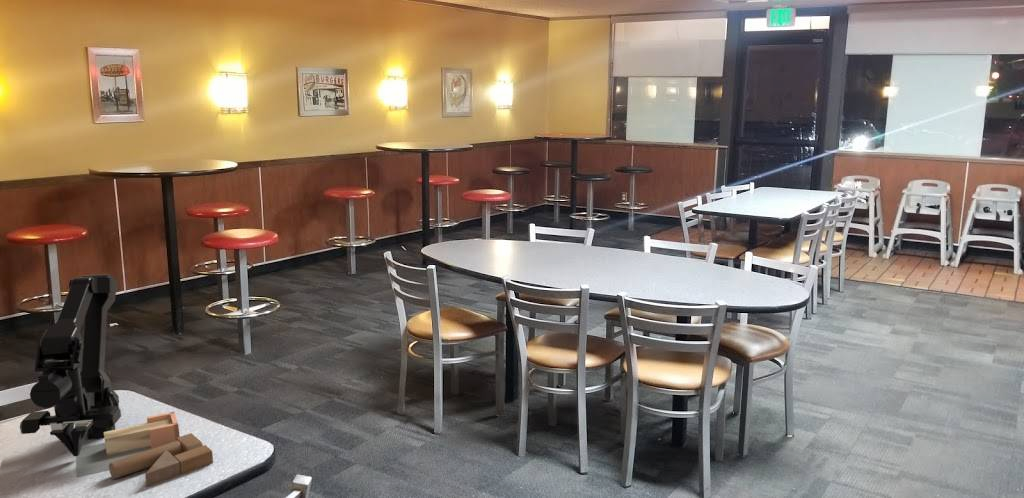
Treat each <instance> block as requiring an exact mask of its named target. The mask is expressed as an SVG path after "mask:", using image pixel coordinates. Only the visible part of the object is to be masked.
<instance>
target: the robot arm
mask: <svg viewBox="0 0 1024 498" xmlns="http://www.w3.org/2000/svg"><path fill="white" fill-rule="evenodd" d="M68 289H69V290H68V292H67V295H66V296H65V300H64V302H63V305H62V308H61V309H60V313H59V315H58V318H57V320H56V322H55V323H54V324H52V325H51V326H50V327H48V328H47V329H45V332H44V333H43V335H42V337H41V339H40V340H39V342H38V345H37V352H36V359H35V365H34V372H35V373H40V372H42V373H41V374H39V375H38V377H37V379H38V380H37V382H36V383H35V384H34V385H33V386H32V387H31V388H30V393H29V396H30V400H31V401H32V403H33V404H34V405H35V406H37V407H40V408H41V409H42V408H43V409H48V408H52V407H53V408H54V415H51V412H50V411H49V410H40V411H39V410H38V411H31V412H30V413H29V414H28V415H27V416H26V417H24V418H23V419H22V420H21V421H20V424H19V429H20V433H21V435H27V434H36V433H37V432H38V431H39V430H40V429H41V427H40V426H42V427H43V426H49V427H50V429H51V431H50V432H49V433H50V434H49V435H50V436H55V437H56V438H57V439H58V440H59V441H60V442H61V444H63V445H64V447H65V448H66V449H67V450H68V451H69V452H70V453H71V454H72V457H76V456H78V455H79V454H80V450H81V448H82V445H83V441H91V440H97V439H101V438H104V432H107V431H112V430H116V423H117V422H118V421H119V419H121V417H122V412H121V408H120V405H119V404H120V399H119V398H120V397H119V395H118V393H117V392H116V391H115V390H114V389H113V388H112V382H111V380H110V378H109V376H108V375H107V373H106V371H105V359H106V358H105V357H106V343H107V342H106V340H107V339H106V338H107V337H106V336H107V323H108V322H107V321H108V320H107V319H108V311H109V309H110V308H111V307H112V305H113V304H114V302H115V301H116V297H117V296H116V294H117V292H118V290H119V281H118V279H117V278H116V277H114V276H113V275H112V274H111V273H103V274H100V273H99V274H83V275H82V276H81V277H74V278H71V279H70V280H69V283H68ZM82 326H83V338H82V335H81V330H82ZM46 361H47V362H46ZM80 363H81V370H80Z"/></svg>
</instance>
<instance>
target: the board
mask: <svg viewBox="0 0 1024 498" xmlns="http://www.w3.org/2000/svg"><path fill="white" fill-rule="evenodd" d="M150 449H152V448H151V446H147V447H143V448H138V449H134V450H129V451H125V452H120V453H116V454H111V455H107V453H106V446H105V442H103V443H97V444H92V445H88V446H84V447H81V450H80V454H79V455H78V456H75V458H76V461H75V462H76V478H81V477H86V476H89V475H94V474H99V473H103V472H107V471H109V463H111V462H113V461H116V460H119V459H122V458H125V457H128V456H131V455H134V454H137V453H140V452H144V451H147V450H150Z"/></svg>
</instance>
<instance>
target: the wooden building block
mask: <svg viewBox="0 0 1024 498" xmlns="http://www.w3.org/2000/svg"><path fill="white" fill-rule="evenodd" d="M169 424H172V422H171V419H170V418H169V419H164V420H159V421H154V422H150V423H147V422H146V423H141V424H136V425H131V426H126V427H122V428H121V427H120V428H118V429H116V428H115V430H112V431H107V432H104V437H103V439H104V443H105V446H106V453H107V455H111V454H116V453H120V452H125V451H129V450H134V449H138V448H143V447H147V446H151V440H150V432H149V429H150V428H154V427H159V426H164V425H169Z"/></svg>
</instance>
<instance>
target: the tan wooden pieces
mask: <svg viewBox="0 0 1024 498" xmlns="http://www.w3.org/2000/svg"><path fill="white" fill-rule="evenodd" d="M213 455H214V454H213V450H212V449H211V448H210V447H208V446H207V445H205V444H204V445H203V442H202V441H201V440H200V438H198V437H197V436H196V435H194V434H193V433H192V432H191V433H187V434H185V435H182V436H180V437H178V438H176V441H174V442H171V443H168V444H165V445H162V446H159V447H156V448H153V449H150V450H147V451H144V452H140V453H137V454H134V455H131V456H128V457H125V458H122V459H119V460H116V461H113V462H111V463H109V470H108V471H109V473H110V476H111V478H112V479H114V480H115V479H119V478H121V477H125V476H127V475H130V474H133V473H136V472H139V471H141V470H142V471H143V470H145V469H148V470H147V472H145V474H144V475H145V483H146V484H145V485H146V488H147V487H151V486H155V485H156V484H159V483H162V482H164V481H167V480H170V479H173V478H175V477H179V476H181V475H185V474H188V473H190V472H193V471H195V470H198V469H201V468H203V467H206V466H208V465H211V464H214V460H213V458H214V457H213Z"/></svg>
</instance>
